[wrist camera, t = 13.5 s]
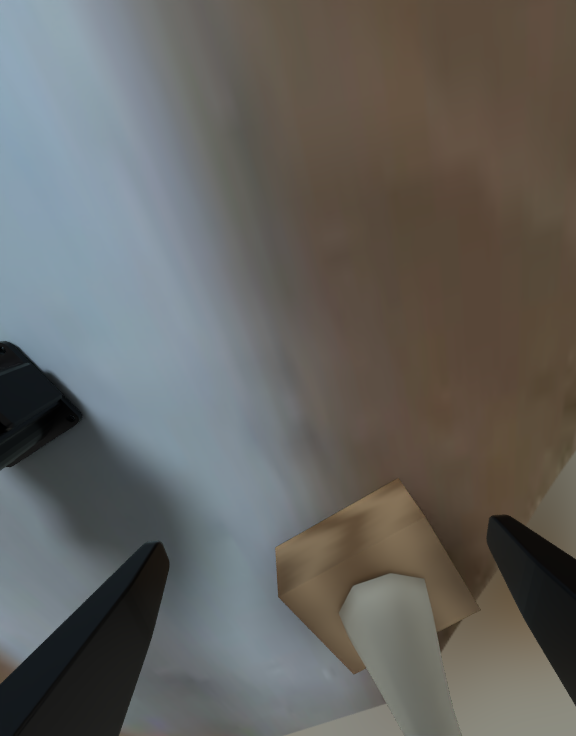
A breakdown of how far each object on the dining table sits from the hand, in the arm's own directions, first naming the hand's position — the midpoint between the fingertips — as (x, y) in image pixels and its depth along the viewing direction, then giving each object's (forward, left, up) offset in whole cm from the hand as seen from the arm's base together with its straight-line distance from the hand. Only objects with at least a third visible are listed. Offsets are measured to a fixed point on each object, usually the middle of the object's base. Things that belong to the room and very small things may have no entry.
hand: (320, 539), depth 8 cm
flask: (-3, -18, -9) cm, 21 cm away
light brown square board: (-3, -19, -13) cm, 23 cm away
